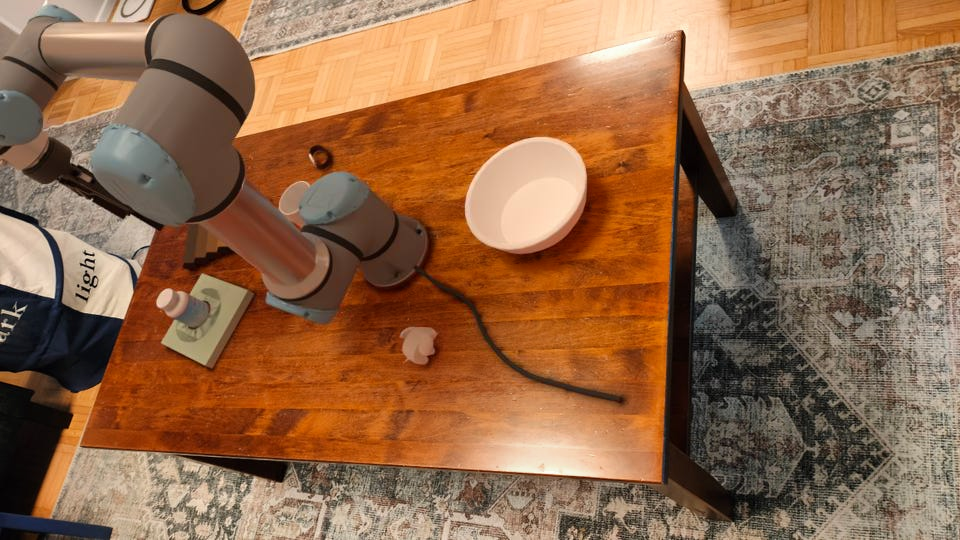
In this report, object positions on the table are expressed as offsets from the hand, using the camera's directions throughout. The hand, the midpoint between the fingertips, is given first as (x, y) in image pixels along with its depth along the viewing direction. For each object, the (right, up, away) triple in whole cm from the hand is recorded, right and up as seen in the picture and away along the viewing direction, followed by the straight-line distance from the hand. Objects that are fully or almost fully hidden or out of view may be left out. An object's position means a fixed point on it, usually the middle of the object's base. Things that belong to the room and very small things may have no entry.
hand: (144, 219), depth 124 cm
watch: (+26, +16, +31) cm, 44 cm away
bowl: (+74, 0, -5) cm, 74 cm away
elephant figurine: (+54, -24, -7) cm, 59 cm away
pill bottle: (+1, -21, +25) cm, 32 cm away
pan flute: (+2, +5, +38) cm, 39 cm away
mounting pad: (+3, -21, +23) cm, 32 cm away
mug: (+29, 0, +20) cm, 36 cm away
